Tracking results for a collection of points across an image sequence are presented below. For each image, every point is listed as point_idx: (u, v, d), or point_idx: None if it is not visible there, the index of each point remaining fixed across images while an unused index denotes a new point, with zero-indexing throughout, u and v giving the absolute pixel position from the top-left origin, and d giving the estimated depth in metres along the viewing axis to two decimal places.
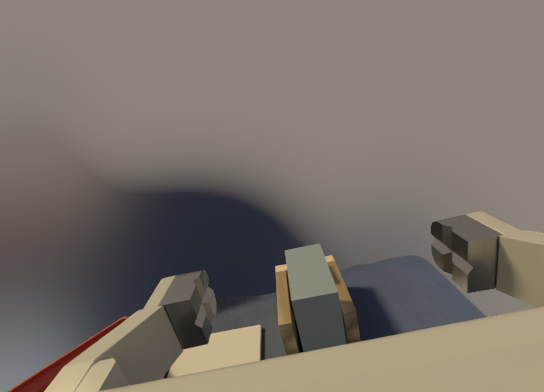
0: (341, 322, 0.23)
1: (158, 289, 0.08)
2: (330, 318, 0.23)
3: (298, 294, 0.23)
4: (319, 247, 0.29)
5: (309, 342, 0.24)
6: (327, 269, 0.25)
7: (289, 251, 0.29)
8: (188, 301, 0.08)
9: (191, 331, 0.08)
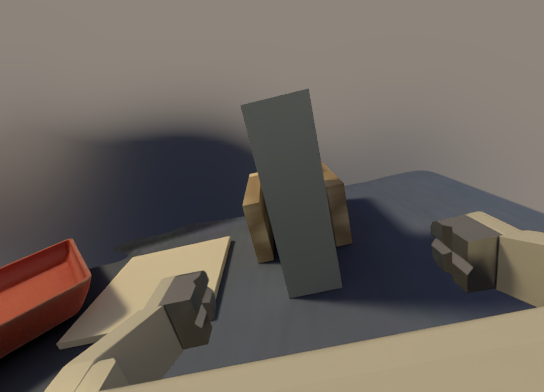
0: (316, 146, 0.16)
1: (158, 289, 0.08)
2: (299, 138, 0.16)
3: None
4: None
5: (272, 182, 0.17)
6: None
7: None
8: (188, 301, 0.08)
9: (191, 331, 0.08)
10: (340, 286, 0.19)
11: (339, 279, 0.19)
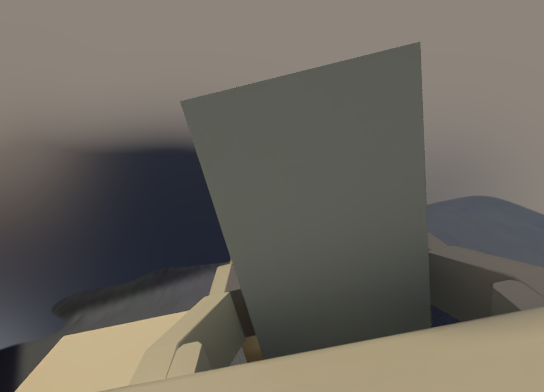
0: (420, 227, 0.05)
1: (219, 276, 0.08)
2: (372, 205, 0.05)
3: None
4: None
5: (286, 318, 0.06)
6: None
7: None
8: None
9: None
10: None
11: None
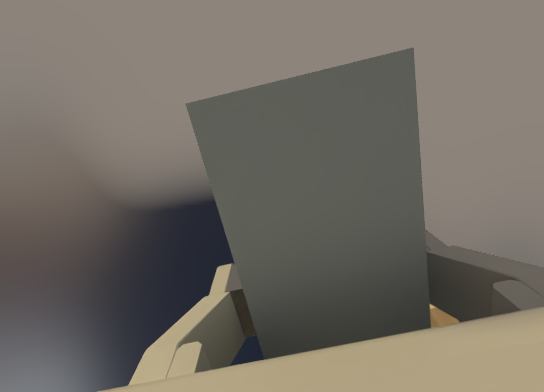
0: (417, 226, 0.05)
1: (219, 276, 0.08)
2: (370, 204, 0.05)
3: None
4: None
5: (286, 317, 0.06)
6: None
7: None
8: None
9: None
10: None
11: None
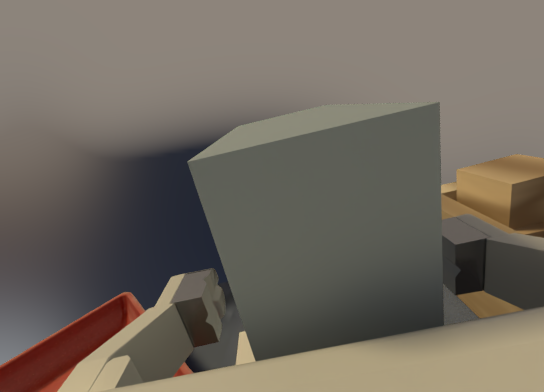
0: (435, 282, 0.05)
1: (168, 287, 0.08)
2: (385, 261, 0.05)
3: (232, 147, 0.05)
4: (325, 106, 0.11)
5: None
6: (357, 105, 0.07)
7: (248, 124, 0.11)
8: (199, 299, 0.08)
9: (202, 329, 0.08)
10: None
11: None
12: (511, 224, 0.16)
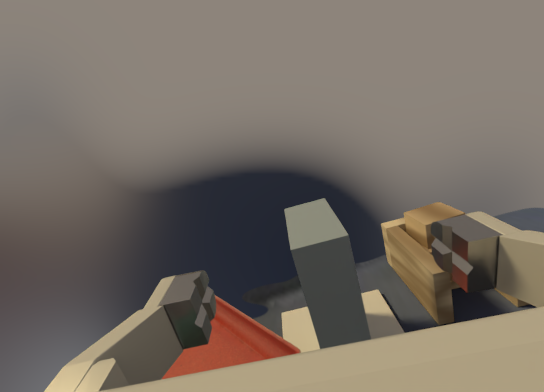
0: (355, 276, 0.18)
1: (158, 289, 0.08)
2: (340, 271, 0.18)
3: (299, 243, 0.18)
4: (324, 201, 0.24)
5: (318, 304, 0.19)
6: (334, 217, 0.21)
7: (289, 209, 0.25)
8: (188, 301, 0.08)
9: (191, 331, 0.08)
10: None
11: None
12: (429, 245, 0.29)
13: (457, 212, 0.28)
